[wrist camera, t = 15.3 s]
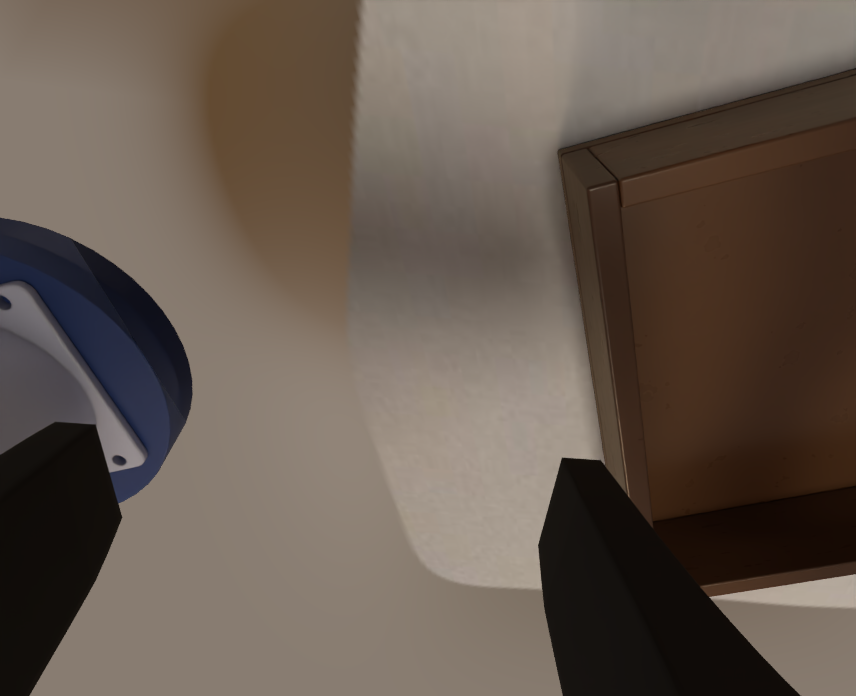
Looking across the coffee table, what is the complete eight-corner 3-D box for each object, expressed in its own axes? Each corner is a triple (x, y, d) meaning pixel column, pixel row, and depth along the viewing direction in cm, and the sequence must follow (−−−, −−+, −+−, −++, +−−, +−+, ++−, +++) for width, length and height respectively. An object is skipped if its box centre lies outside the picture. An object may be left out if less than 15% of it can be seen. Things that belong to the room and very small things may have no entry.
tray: (615, 529, 23) (641, 608, 20) (556, 149, 16) (586, 188, 13) (951, 470, 22) (1034, 547, 19) (1075, 8, 14) (1252, 14, 11)
